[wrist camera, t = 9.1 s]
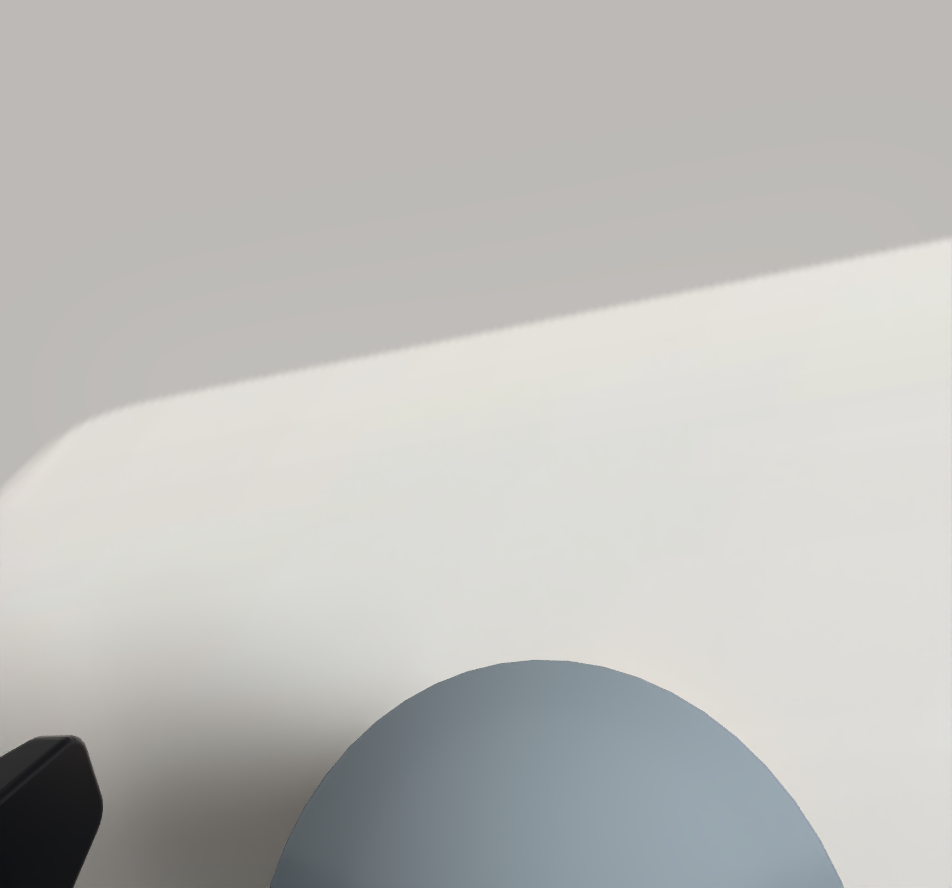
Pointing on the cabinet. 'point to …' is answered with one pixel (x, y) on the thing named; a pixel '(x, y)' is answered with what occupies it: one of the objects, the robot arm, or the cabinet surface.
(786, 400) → the cabinet surface
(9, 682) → the cabinet surface
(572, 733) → the grey rounded cylinder
